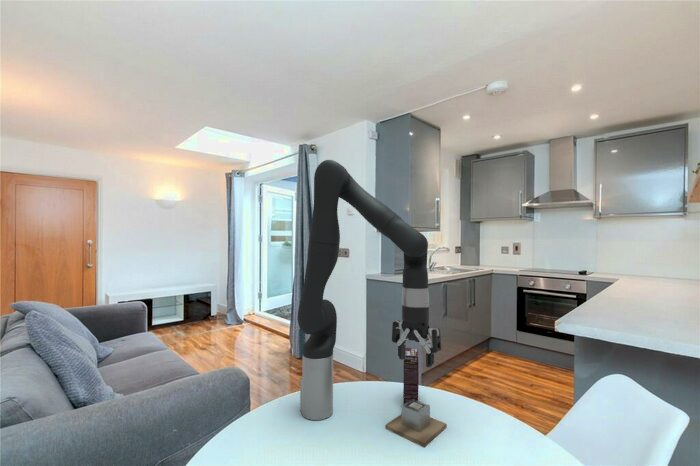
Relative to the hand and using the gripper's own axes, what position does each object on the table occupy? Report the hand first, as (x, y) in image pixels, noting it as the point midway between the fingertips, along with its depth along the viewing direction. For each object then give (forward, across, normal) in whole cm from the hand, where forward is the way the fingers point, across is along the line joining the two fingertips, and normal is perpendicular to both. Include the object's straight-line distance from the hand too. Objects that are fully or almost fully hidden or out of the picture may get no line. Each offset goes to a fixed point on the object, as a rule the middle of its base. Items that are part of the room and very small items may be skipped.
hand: (415, 362), depth 88 cm
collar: (+17, 0, 0) cm, 17 cm away
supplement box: (+18, -9, +12) cm, 23 cm away
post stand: (+18, 0, 0) cm, 18 cm away
